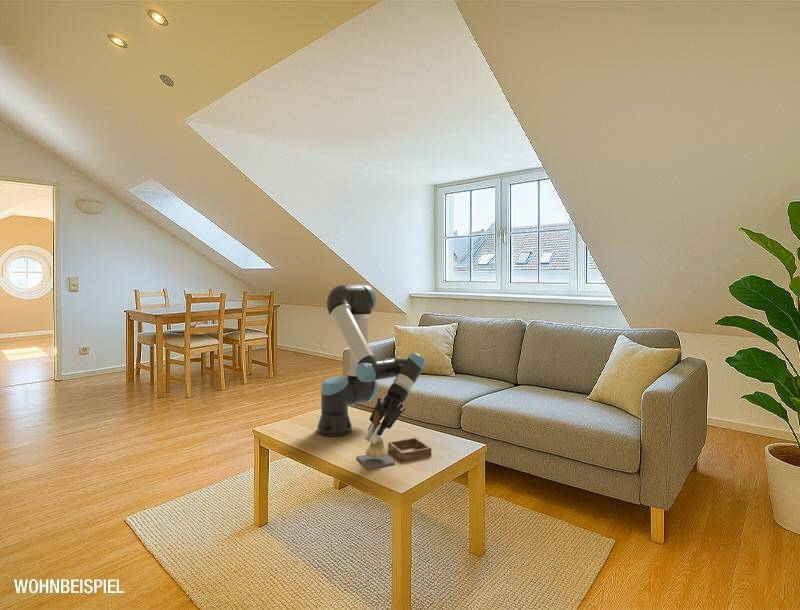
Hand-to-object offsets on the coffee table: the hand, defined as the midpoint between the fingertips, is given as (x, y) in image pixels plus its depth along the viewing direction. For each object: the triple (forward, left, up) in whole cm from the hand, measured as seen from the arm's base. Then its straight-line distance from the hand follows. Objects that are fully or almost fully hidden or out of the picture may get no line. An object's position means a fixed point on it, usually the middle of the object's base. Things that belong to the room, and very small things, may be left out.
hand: (369, 441), depth 173 cm
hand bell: (-1, +4, -6) cm, 7 cm away
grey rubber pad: (-2, +3, -9) cm, 10 cm away
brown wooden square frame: (-4, +19, -9) cm, 21 cm away
